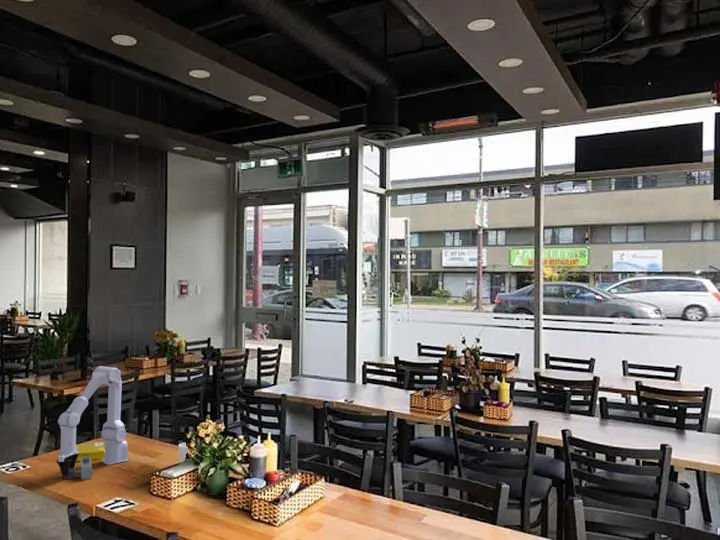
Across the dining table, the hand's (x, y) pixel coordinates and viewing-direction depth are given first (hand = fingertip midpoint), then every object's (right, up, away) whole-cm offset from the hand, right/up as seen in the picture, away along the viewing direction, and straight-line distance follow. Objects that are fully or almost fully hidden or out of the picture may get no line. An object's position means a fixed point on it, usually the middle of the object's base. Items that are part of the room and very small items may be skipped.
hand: (67, 473), depth 246 cm
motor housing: (+6, -2, +3) cm, 7 cm away
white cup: (+46, -3, +15) cm, 48 cm away
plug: (+3, -1, +1) cm, 4 cm away
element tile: (-4, -2, +29) cm, 30 cm away
